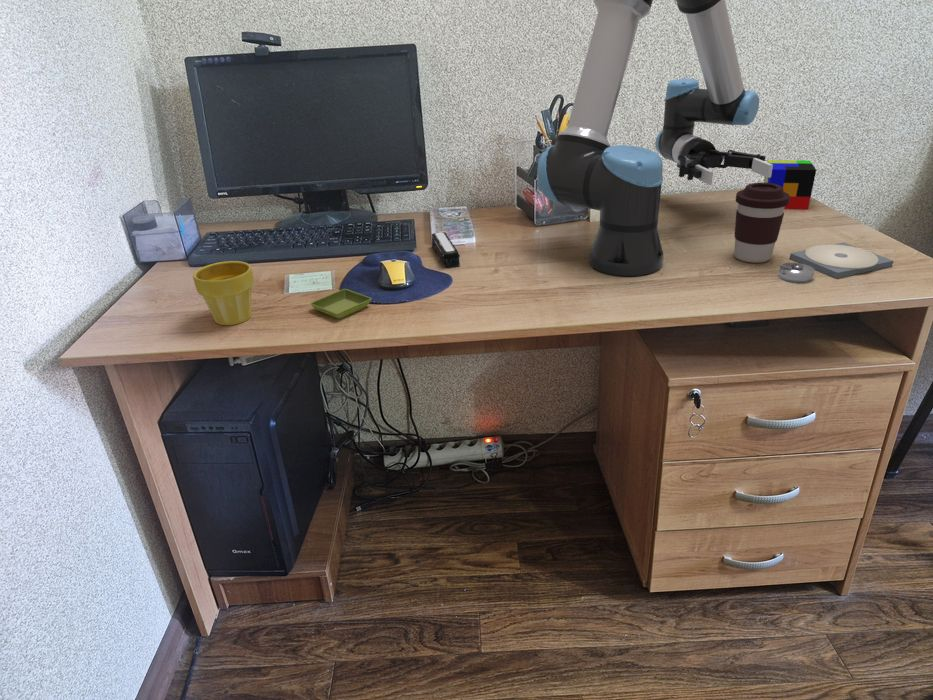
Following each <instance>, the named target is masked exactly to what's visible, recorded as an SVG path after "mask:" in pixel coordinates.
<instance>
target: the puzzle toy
mask: <svg viewBox="0 0 933 700" xmlns="http://www.w3.org/2000/svg"><path fill="white" fill-rule="evenodd" d="M766 162H767V163H770V164H772V165H773V168H772V174H771V177H770V178H767V177H765V176H764V178H763V179H764V180H763V183H773V184H777V185H780V186H782V187H783V190H784V192H786V193H788V194H789V195H790V200H789V204H788V205H787V206H785V208H784V210H801V211H802V210H804V211H805V210H809V206H810V203H811V198H812V197H811V196H812V193H813V188H814V182H815V179H816V174H817V169H816V167H815V165H814V164H813V163H812V162H811V160H808V159H807V160H802V159H801V160H800V159H798V160H794V159H793V160H792V159H791V160H790V159H789V160H788V159H787V160H780V159H779V160H778V159H767V161H766Z"/></svg>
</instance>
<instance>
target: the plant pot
mask: <svg viewBox="0 0 933 700" xmlns="http://www.w3.org/2000/svg"><path fill="white" fill-rule="evenodd" d="M252 269H253V268H252V265H251V264H250V263H248V262H245V261H239V260H229V261H221V262H219V261H218V262H216V263H215V262H214V263H211V264H207V265H205V266H202V267H201V268H198V269H197V270H195V272H194V273H193V275H192V277H193V282H194V286H195V288H196V289H195V290H196V292H197V294H198V295H199V296H201V297H203V298H202V299H203V300H204V302H205V304H206V306H207V307H208V309H209V312H210V313H211V315H212V318H213V320H214V321H215V323H216V324H218V325H221V326H235V325H238V324H242V323H244V322H247V321H248V320H249V319H250V318H251V316H252V287H254V285H255V284H254V283H255V279H254V273H253V270H252Z"/></svg>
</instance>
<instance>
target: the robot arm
mask: <svg viewBox="0 0 933 700" xmlns="http://www.w3.org/2000/svg"><path fill="white" fill-rule="evenodd" d="M653 1H654V0H593V4H594V6H595V8H596V9H597V15H596V19H595V23H594V26H593V29H592V34H591V37H590V41H589V45H588V49H587V53H586V56H585V60H584V63H583V67H582V71H581V74H580V78H579V81H578V85H577V89H576V94H575V97H574V100H573V104H572V107H571V111H570V115H569V119H568V123H567V127H566V128H565V129H564V130H562V131H561V132H559V133H558V134H557V136H556V140H555V143H554V145H553V144H552V145H550V146H548V147H546V148H545V149H544V151H542V153H541V155H540V157H539V159H538V162H537V169H536V171H537V172H536V177H537V178H536V179H537V183H538V186H539V187H540V191H541V193H542V194H543V196H544V197H545V198H546V199H548V200H550V201H552V202H556V203H559V204H562V205H563V206H566V205H567V206H568V205H570V206H573V207H578V208H579V207H580V208H585V209H590V210H595V211H599V228H598V231H597V233H596V235H595V238H594V241H593V244H592V246H591V249H590V251H589V265H590V267H592V268H593V269H595V270H596V271H598V272H600V273H603V274H608V275H611V276H612V275H613V276H618V277H619V276H620V277H621V276H622V277H625V276H626V277H634V276H637V277H638V276H644V275H649V274H653V273H655V272H657V271H659V270H660V269H662V267H663V264H664V251H663V247H662V243H661V238H660V235H659V232H658V231H659V230H658V223H659V215H660V214H659V213H660V203H661V194H662V193H661V192H662V186H663V185H662V183H663V181H664V176H663V175H664V174H663V169H664V168H663V165H664V164H663V159H662V158H661V157H660V155H661V156H662V157H663V158H664V159H666V160H669V161H671V162H674V163H675V164H676V167H677V168H678V177H679V178H684V177H685V176H686V175H687V178H686V179H687V181H693V180H694V178H695V179H697V180H699V181H701V182H702V183H704V184H707V185H712V183H713V177H714V171H713V170H711V169H715V168H719V169H726V168H728V167H730V168H738V169H747V170H751V172H754V173H755V174H758V175H761V176H763V177H764V178H765V177H767V178H770V177H771V174H772V168H773V165H772V164H770V163H767V161H766V155H761V154H760V153H757V154H755V153H754V154H753V153H747V152H741V151H736V150H733V149H728V150H727V151H719V150H718V149H716V146H715V145H714V144H713V143H712V142H711V141H709V140H706V139H704V138H702V137H699V136H697V135H694V129H695V123H708V124H717V125H727V126H749V125H750V124H752V123H753V122H754V120H755V118H756V116H757V114H758V111H759V107H760V97H759V95H758V93H757V92H756V91H751V90H749V89H747V90H746V89H745V86H744V82H743V77H742V72H741V68H740V63H739V59H738V54H737V50H736V45H735V40H734V36H733V30H732V26H731V22H730V16H729V13H728V7H727V4H726V0H674V1H675V3H676V5H677V9H678V10H679V12H680V13H682V14H684V15H685V17H686V20H687V23H688V27H689V31H690V35H691V38H692V41H693V45H694V48H695V52H696V55H697V59H698V61H699V66H700V69H701V73H702V76H703V80H704V84H705V87H706V88H700V85H699V83H700V82H699V80H698V79H695V78H694V79H693V78H675V79H672V80H670V81H669V82H668V83H667V86H666V92H665V93H666V94H665V99H664V112H663V114H664V115H663V126H662V129H661V131H660V132H658V135H657V136H656V138H655V142H654V145H655V149H656V151H657V152H656V151H653V150H651V149H648V148H645V147H641V146H635V145H625V144H624V145H623V144H619V145H618V144H617V145H611V144H610V142H609V140H608V137H607V136H608V134H609V130H610V126H611V122H612V119H613V115H614V111H615V108H616V105H617V102H618V97H619V94H620V91H621V87H622V84H623V80H624V76H625V72H626V71H627V65H628V62H629V58H630V56H631V52H632V48H633V45H634V41H635V37H636V33H637V30H638V26H639V24H640V20H642V19H644V18H645V17H646V16H648V15H649V13H650V12H651V9H652V8H651V7H652V4H653ZM722 163H723V164H722ZM709 168H710V169H709Z"/></svg>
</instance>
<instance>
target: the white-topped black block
mask: <svg viewBox="0 0 933 700" xmlns="http://www.w3.org/2000/svg"><path fill="white" fill-rule="evenodd" d="M431 248H432V249H433V250H434V252H435V254H436V256H437V257H438V259H439V261H440V263H441V265H442V266H443V269H446V270H447V269H453V268H459V267H461V265H460V264H461V263H460V254H459V250H457V248H456V246H455V245H454V243H453V241H451V238H450V237H449V236H448V234H447V232H443V231H442V232H435V233H431Z"/></svg>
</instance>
